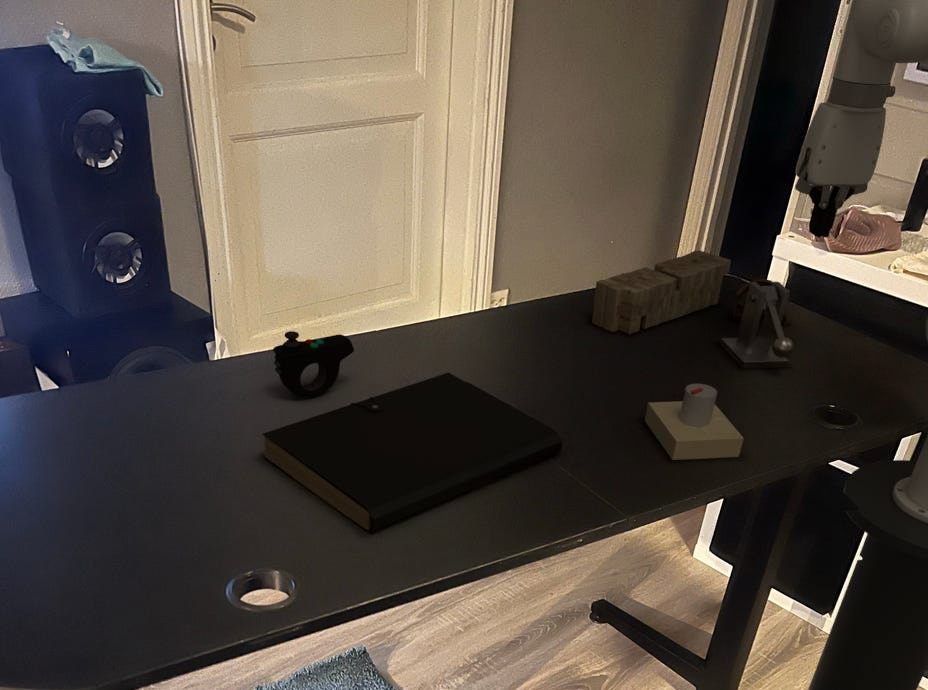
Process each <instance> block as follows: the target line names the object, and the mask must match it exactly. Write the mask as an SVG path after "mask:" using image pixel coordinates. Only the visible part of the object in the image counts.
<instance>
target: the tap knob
mask: <svg viewBox="0 0 928 690" xmlns="http://www.w3.org/2000/svg"><path fill="white" fill-rule="evenodd" d="M717 395H718V390H716V388H715V387H713V386H711V385H708V384H704V383H691V384H687V385H686V387H685V389H684V393H683V398H682V401H683V403H682V407H681V412H680V420H681V421H682V422H684V423H686V424H688V425H692V426H706V425H708V424H709V423H710V421H711V417H712V413H713V408H714V404H715V405H716V399H717Z"/></svg>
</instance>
